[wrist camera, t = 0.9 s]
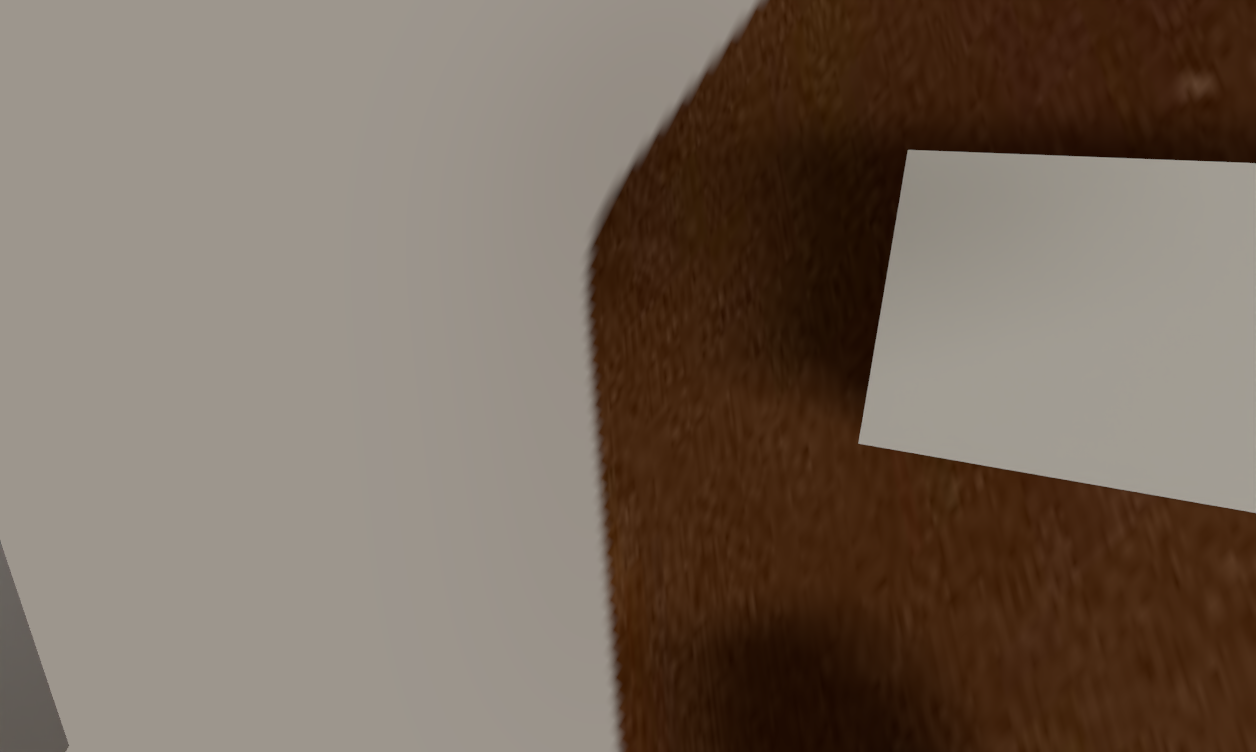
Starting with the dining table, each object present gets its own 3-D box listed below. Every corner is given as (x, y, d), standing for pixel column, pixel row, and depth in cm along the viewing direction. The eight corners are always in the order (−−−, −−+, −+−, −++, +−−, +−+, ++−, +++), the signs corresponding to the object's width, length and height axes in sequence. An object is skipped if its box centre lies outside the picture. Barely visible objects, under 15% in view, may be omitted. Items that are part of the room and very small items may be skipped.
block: (973, 207, 33) (907, 149, 28) (1557, 243, 26) (1612, 176, 21) (931, 455, 33) (858, 443, 28) (1508, 555, 26) (1551, 564, 21)
